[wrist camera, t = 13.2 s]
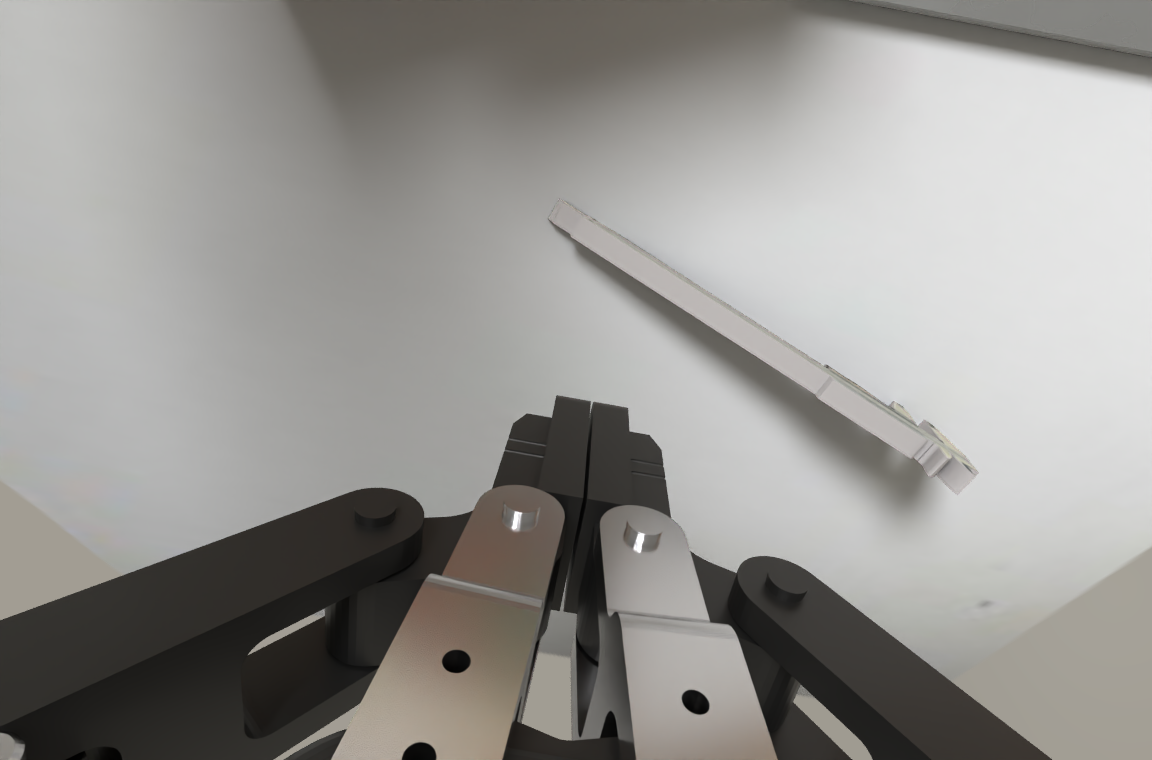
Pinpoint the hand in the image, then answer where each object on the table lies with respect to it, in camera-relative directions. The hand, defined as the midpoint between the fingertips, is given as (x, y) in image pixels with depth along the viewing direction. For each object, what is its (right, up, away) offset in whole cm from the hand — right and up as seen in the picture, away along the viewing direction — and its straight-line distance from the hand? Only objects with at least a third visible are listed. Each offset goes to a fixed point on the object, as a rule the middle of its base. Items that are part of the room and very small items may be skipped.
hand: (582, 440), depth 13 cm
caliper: (+8, +4, +16) cm, 18 cm away
